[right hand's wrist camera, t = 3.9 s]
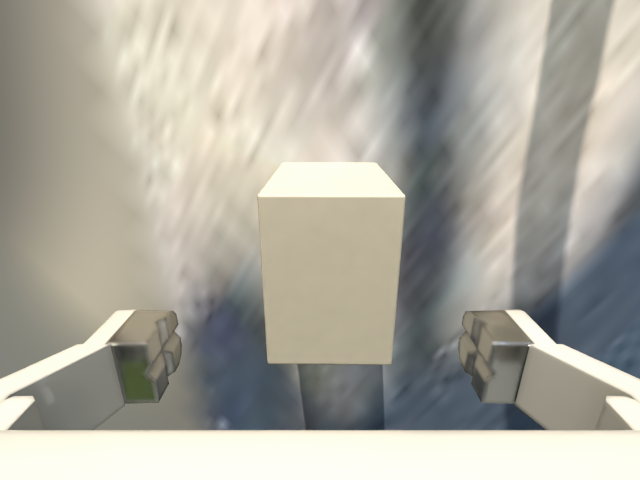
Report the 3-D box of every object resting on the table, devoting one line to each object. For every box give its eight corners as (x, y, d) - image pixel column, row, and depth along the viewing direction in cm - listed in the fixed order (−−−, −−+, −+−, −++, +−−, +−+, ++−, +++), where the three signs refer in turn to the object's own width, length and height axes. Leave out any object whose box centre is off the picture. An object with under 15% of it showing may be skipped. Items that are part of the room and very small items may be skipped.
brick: (376, 162, 19) (406, 195, 12) (370, 281, 21) (392, 365, 14) (281, 162, 19) (256, 195, 12) (286, 280, 21) (267, 364, 14)
